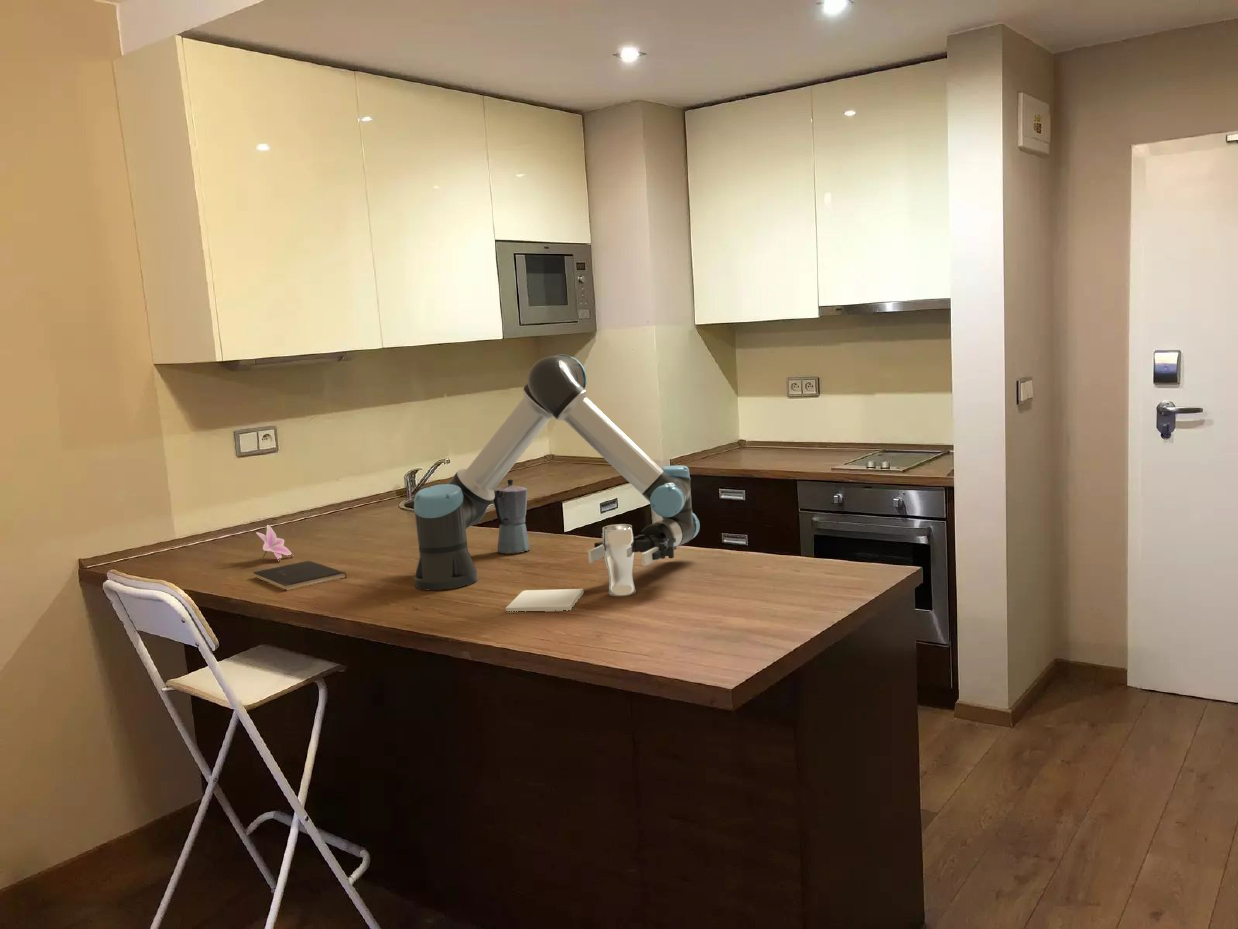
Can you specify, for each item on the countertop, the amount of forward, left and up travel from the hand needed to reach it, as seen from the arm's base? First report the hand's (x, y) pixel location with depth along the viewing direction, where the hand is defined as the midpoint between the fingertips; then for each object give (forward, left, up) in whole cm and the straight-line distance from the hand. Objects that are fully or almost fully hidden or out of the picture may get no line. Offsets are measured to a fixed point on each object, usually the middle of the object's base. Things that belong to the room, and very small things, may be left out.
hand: (616, 558), depth 215 cm
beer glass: (0, +2, -9) cm, 9 cm away
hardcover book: (-90, +26, -9) cm, 94 cm away
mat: (-16, -4, -8) cm, 18 cm away
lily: (-109, +48, -9) cm, 120 cm away
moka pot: (-38, +48, -9) cm, 61 cm away
